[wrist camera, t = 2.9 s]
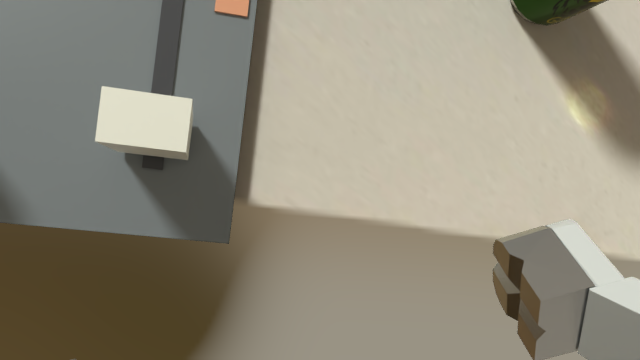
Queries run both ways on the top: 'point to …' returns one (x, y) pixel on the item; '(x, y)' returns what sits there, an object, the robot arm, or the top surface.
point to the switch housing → (83, 106)
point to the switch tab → (145, 123)
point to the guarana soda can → (551, 9)
